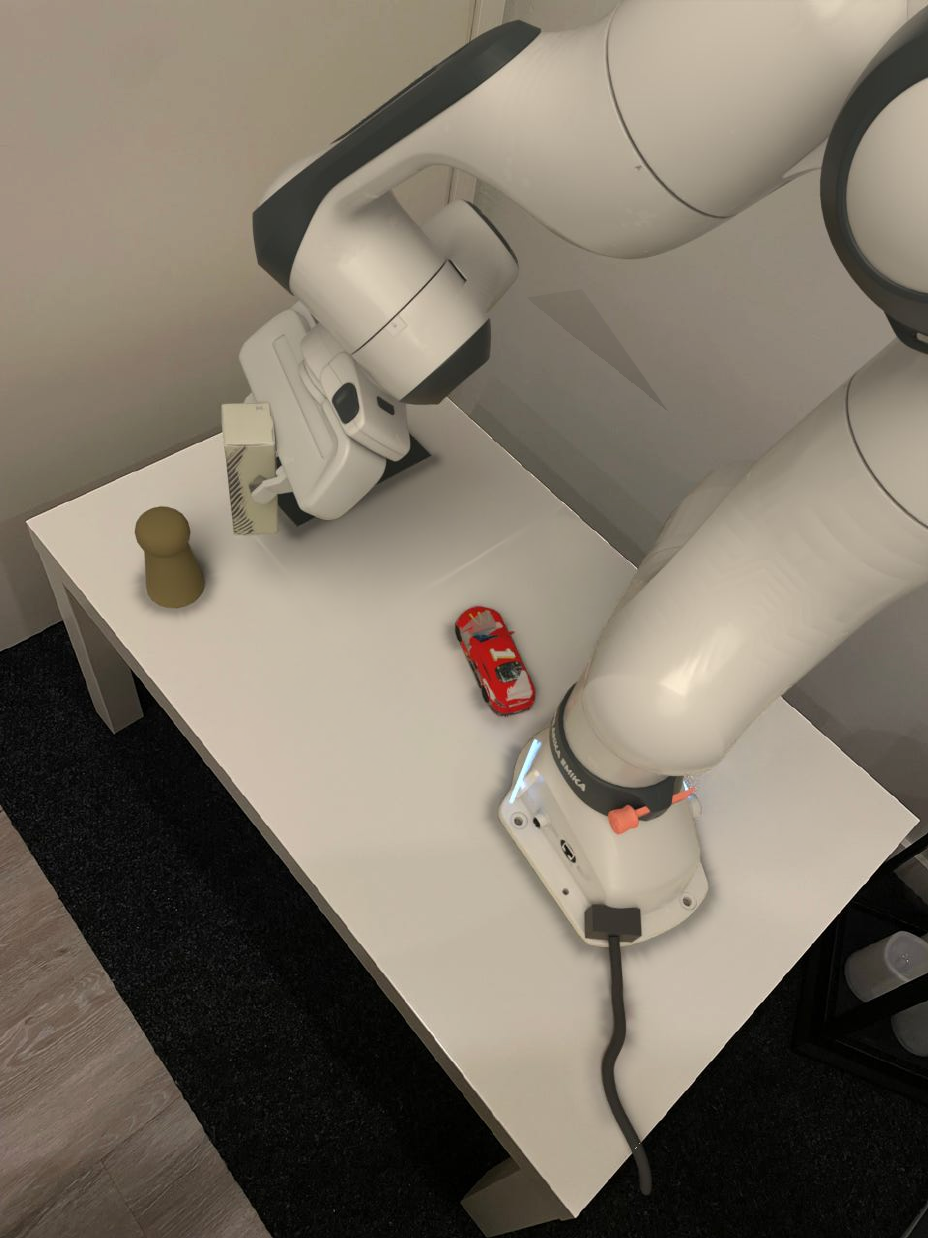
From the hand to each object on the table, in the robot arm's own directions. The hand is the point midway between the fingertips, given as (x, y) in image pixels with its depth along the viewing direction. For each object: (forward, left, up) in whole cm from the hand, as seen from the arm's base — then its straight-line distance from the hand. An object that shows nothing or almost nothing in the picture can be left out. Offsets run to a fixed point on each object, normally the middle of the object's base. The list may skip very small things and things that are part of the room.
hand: (245, 468), depth 78 cm
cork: (+3, +8, -20) cm, 21 cm away
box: (0, -1, -7) cm, 7 cm away
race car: (-17, -21, -20) cm, 33 cm away
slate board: (+14, -14, -19) cm, 28 cm away
